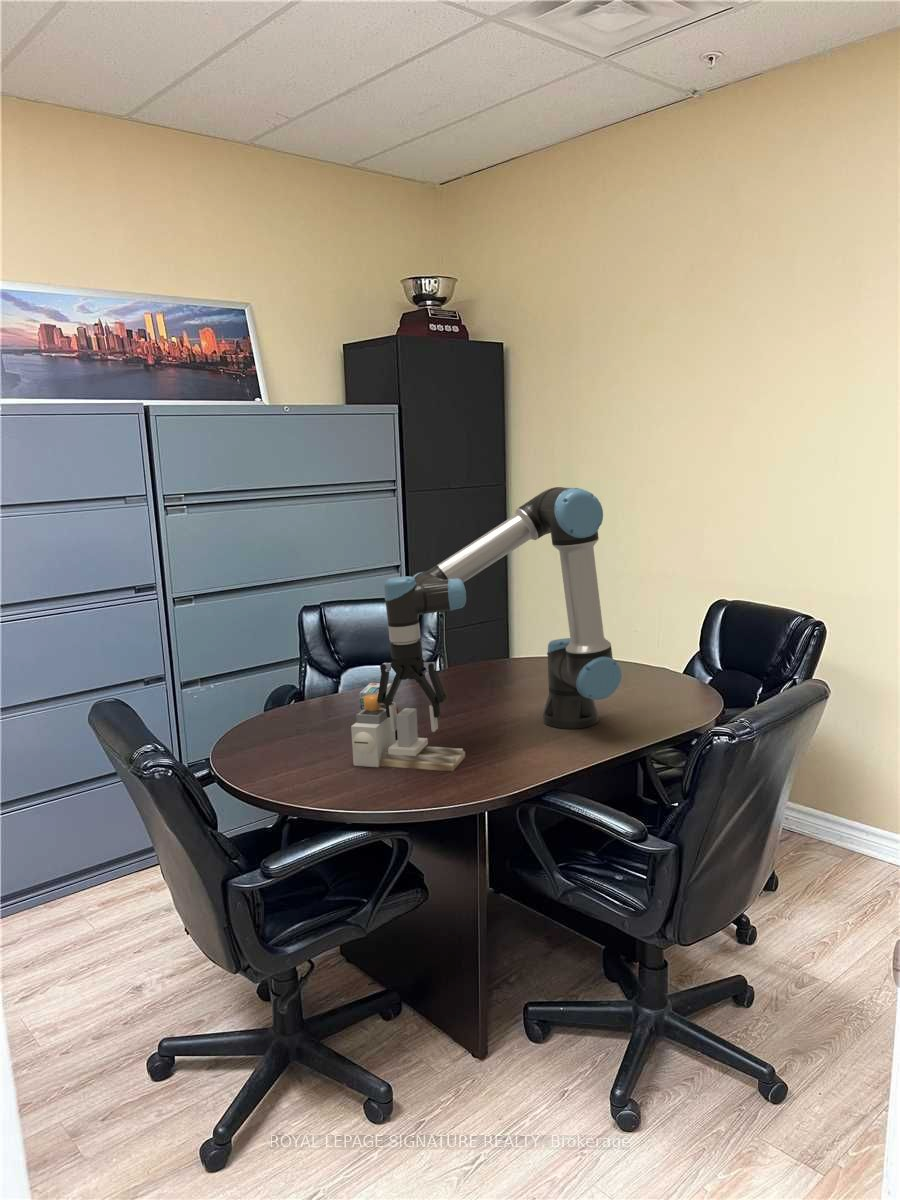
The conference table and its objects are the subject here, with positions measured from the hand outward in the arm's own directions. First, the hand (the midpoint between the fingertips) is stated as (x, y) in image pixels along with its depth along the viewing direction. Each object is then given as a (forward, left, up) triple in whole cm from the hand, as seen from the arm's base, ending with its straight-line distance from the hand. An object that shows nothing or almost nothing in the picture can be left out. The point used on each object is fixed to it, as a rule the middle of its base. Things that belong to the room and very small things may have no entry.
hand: (414, 729), depth 224 cm
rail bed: (-2, 0, -8) cm, 8 cm away
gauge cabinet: (+11, 0, -8) cm, 13 cm away
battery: (+14, -15, -8) cm, 22 cm away
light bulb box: (+21, -26, -8) cm, 34 cm away
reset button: (+11, 0, +5) cm, 12 cm away
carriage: (+2, 0, -5) cm, 5 cm away
